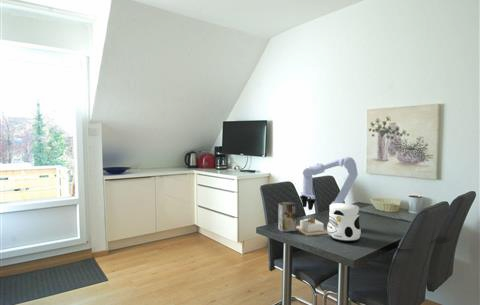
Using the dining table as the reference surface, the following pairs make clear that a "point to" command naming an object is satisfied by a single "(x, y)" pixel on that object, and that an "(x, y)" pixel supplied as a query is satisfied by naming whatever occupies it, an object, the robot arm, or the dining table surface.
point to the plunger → (311, 219)
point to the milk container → (344, 222)
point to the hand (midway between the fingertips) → (307, 208)
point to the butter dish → (311, 227)
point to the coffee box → (287, 216)
